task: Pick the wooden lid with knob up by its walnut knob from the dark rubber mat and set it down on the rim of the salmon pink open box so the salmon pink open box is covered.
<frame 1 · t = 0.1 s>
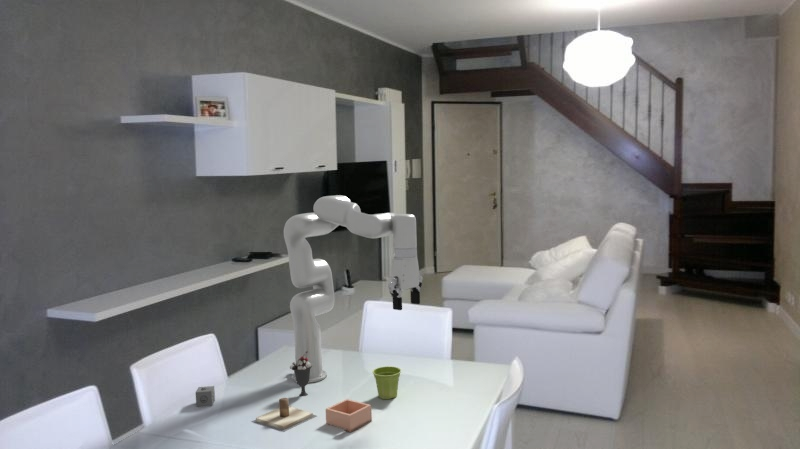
hand: (406, 306, 208), 31 cm above the table, tool pointing down, fingers open, 9 cm apart
wooden lid with knob: (284, 418, 198), point 1 cm above the table, touching mat
salmon pink open box: (349, 423, 195), on the table
dice cube: (205, 404, 215), on the table
mat: (284, 420, 198), on the table
sundae: (303, 396, 219), on the table
plant pot: (387, 396, 216), on the table
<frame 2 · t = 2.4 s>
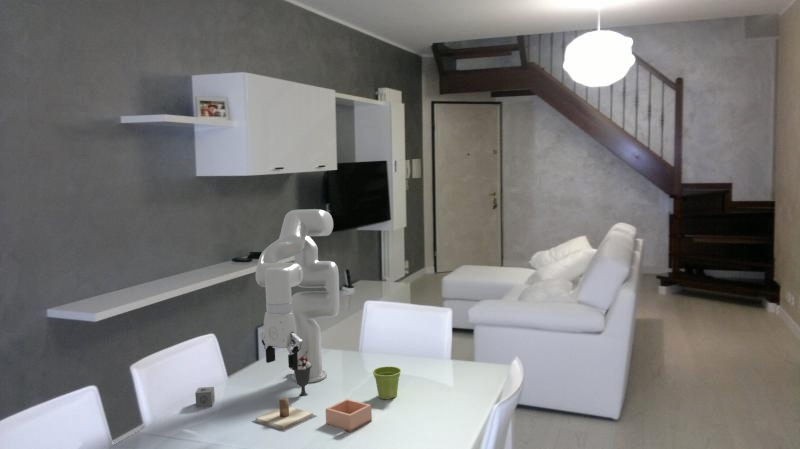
hand: (281, 364, 196), 18 cm above the table, tool pointing down, fingers open, 9 cm apart
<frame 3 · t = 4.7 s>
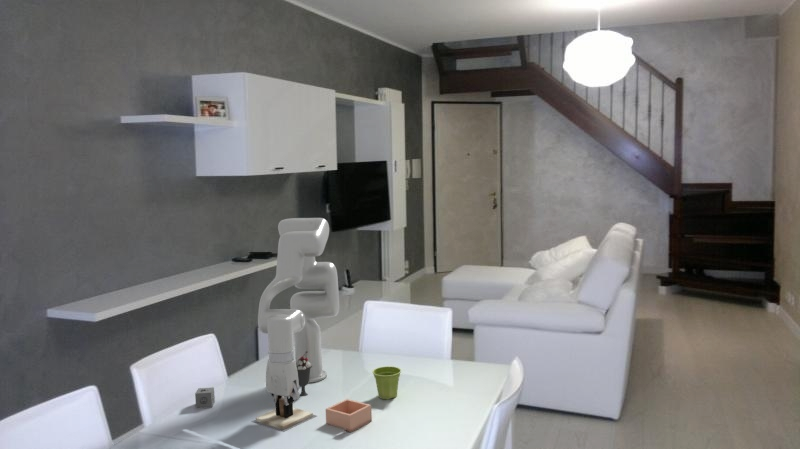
hand: (284, 414, 198), 2 cm above the table, tool pointing down, fingers closed on wooden lid with knob, 2 cm apart
wooden lid with knob: (284, 418, 198), point 1 cm above the table, touching gripper
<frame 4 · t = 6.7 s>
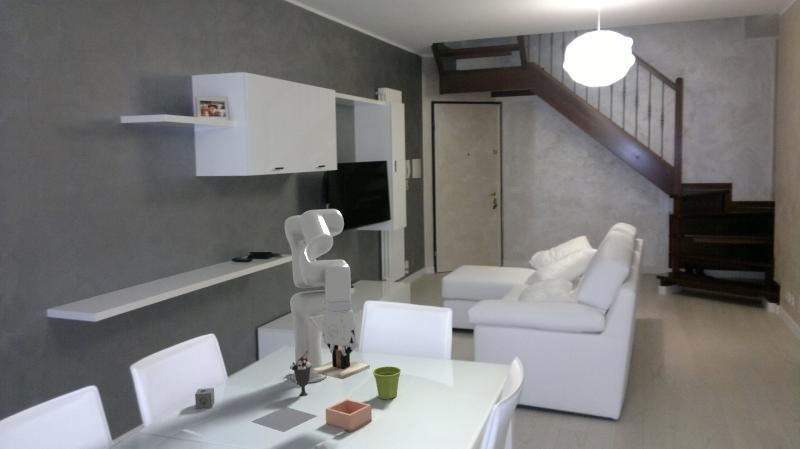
hand: (341, 366, 193), 17 cm above the table, tool pointing down, fingers closed on wooden lid with knob, 2 cm apart
wooden lid with knob: (341, 370, 193), point 16 cm above the table, touching gripper
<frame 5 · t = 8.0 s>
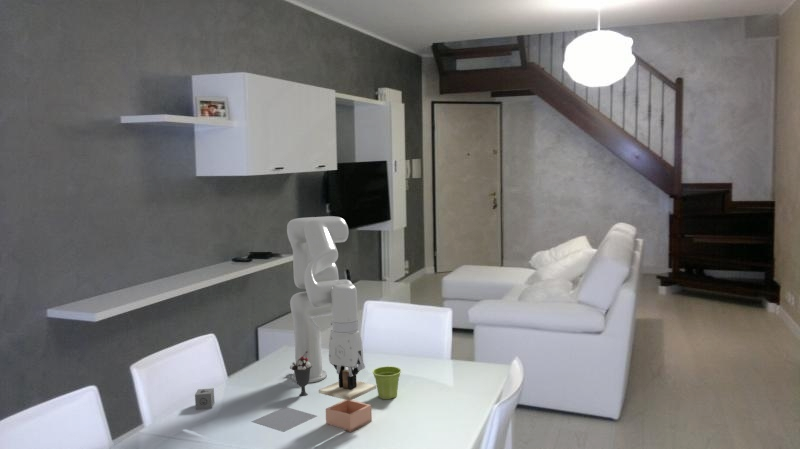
hand: (347, 386, 193), 11 cm above the table, tool pointing down, fingers closed on wooden lid with knob, 2 cm apart
wooden lid with knob: (347, 390, 193), point 10 cm above the table, touching gripper
when the fingers open (8 cm above the table, at t = 8.9 s): wooden lid with knob drops 1 cm, resting on salmon pink open box.
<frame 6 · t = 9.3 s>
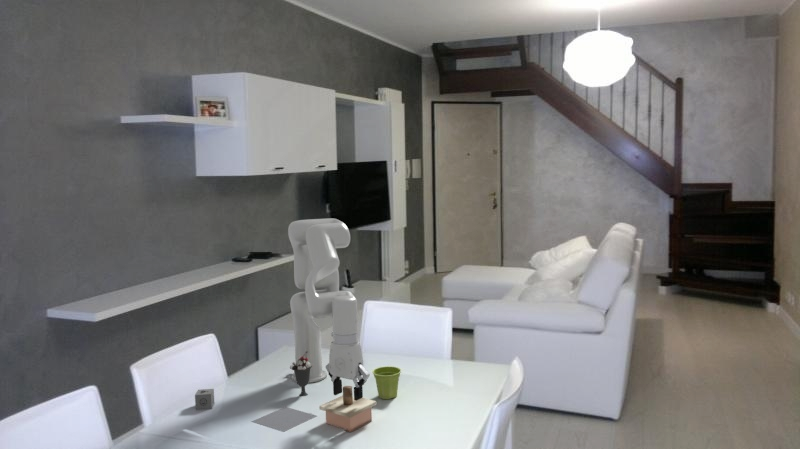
hand: (348, 396, 194), 8 cm above the table, tool pointing down, fingers open, 7 cm apart
wooden lid with knob: (348, 406, 194), point 5 cm above the table, touching salmon pink open box
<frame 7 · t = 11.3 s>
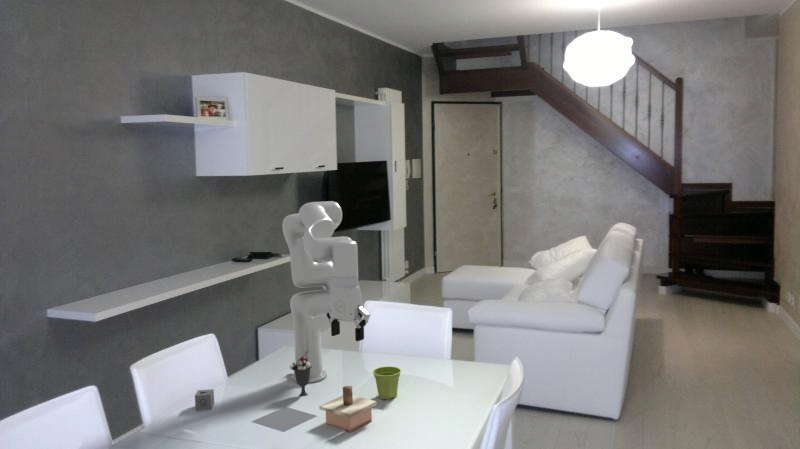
hand: (347, 337, 197), 25 cm above the table, tool pointing down, fingers open, 9 cm apart
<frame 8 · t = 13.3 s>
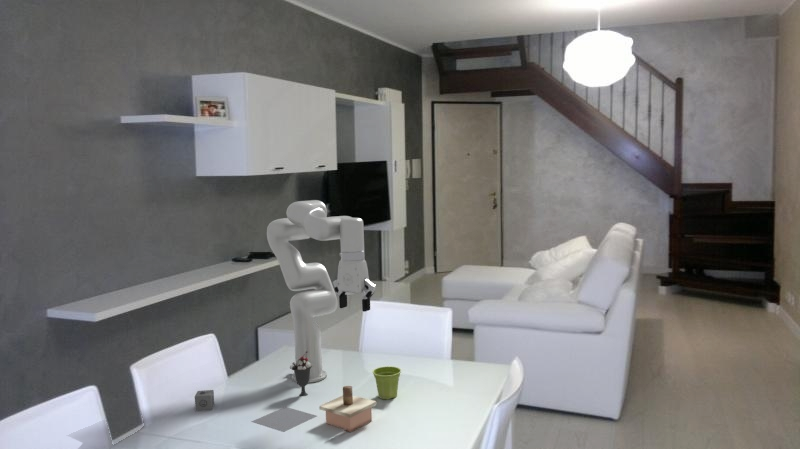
hand: (354, 309, 211), 30 cm above the table, tool pointing down, fingers open, 9 cm apart
at the end: wooden lid with knob 0.1 cm off-centre on the salmon pink open box, point 5.0 cm above the salmon pink open box's base; wooden lid with knob tilted 0°; the gripper is holding nothing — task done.
